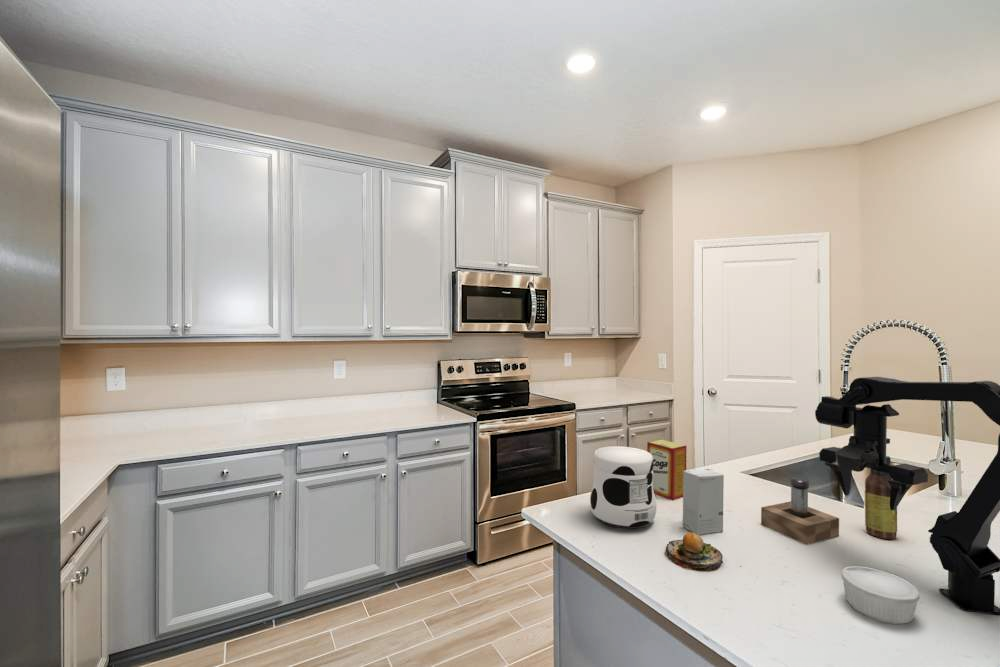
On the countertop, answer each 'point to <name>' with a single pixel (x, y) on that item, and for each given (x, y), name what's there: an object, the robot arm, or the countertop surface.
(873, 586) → the ramekin
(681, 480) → the baking soda box
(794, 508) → the grey cylinder
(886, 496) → the sauce bottle
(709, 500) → the skincare box
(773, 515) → the wooden peg base
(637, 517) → the milk container
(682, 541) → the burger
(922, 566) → the countertop surface
